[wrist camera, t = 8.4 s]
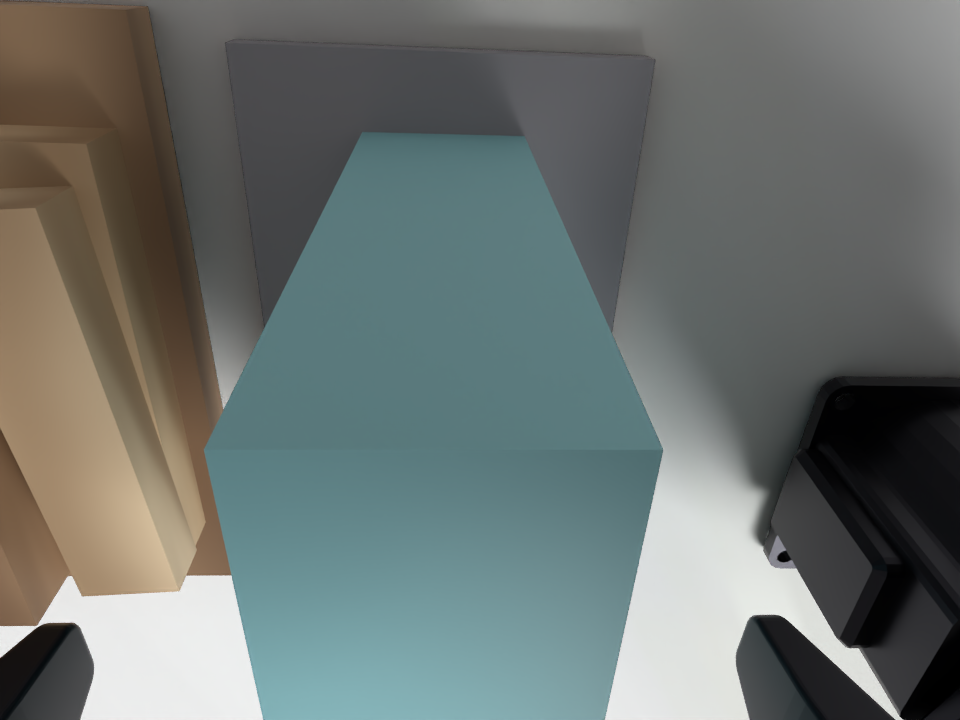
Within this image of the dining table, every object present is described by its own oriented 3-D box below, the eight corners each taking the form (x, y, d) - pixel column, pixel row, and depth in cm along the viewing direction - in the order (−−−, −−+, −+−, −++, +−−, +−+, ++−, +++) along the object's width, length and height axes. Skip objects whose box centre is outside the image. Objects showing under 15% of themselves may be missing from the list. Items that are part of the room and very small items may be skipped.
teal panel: (524, 136, 13) (662, 450, 5) (500, 511, 18) (546, 990, 10) (362, 131, 13) (204, 448, 5) (382, 511, 18) (325, 999, 10)
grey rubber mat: (647, 55, 13) (654, 59, 13) (573, 535, 20) (577, 550, 19) (234, 39, 13) (225, 42, 12) (299, 535, 19) (295, 551, 19)
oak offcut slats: (128, 128, 13) (63, 162, 10) (213, 522, 18) (182, 599, 16) (-28, 123, 12) (-128, 157, 10) (103, 522, 18) (55, 600, 15)
